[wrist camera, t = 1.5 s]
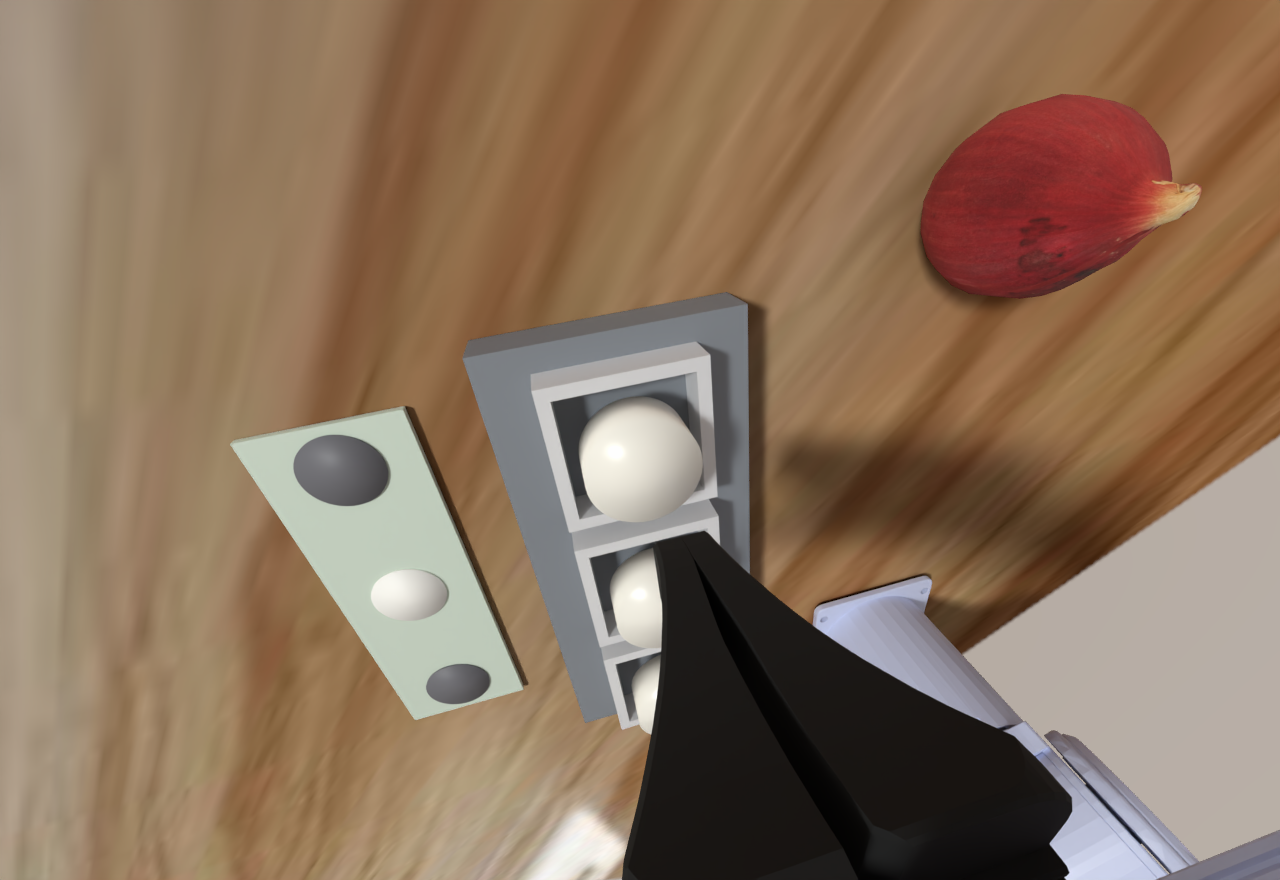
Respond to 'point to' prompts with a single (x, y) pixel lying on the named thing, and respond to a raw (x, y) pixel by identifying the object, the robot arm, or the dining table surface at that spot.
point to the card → (387, 554)
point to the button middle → (638, 600)
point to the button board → (552, 476)
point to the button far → (646, 692)
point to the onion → (1049, 197)
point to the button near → (638, 459)
